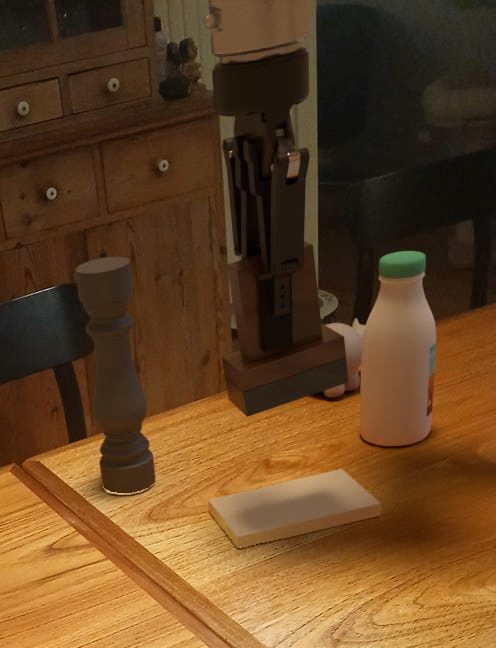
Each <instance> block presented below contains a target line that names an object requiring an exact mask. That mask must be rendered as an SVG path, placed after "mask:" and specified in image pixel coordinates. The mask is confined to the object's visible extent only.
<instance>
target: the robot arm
mask: <svg viewBox="0 0 496 648" xmlns="http://www.w3.org/2000/svg"><path fill="white" fill-rule="evenodd" d="M208 11H209V14H206V15H204V18H203V26H204V27H205V28H206V29H210V48H211V54H212V55H213V56H214V57H218V58H219V62H216V63H215V64H214V65H213V67H214V68H212V69H211V75H212V93H213V107H214V108H213V109H214V111H215V113H216V114H217V115H218V116H222V117H228V118H229V117H230V118H231V117H234V122H233V123H234V125H233V135H234V136H232V137H228V138H224V139H222V145H221V148H222V152H223V156H224V161H225V166H226V175H227V186H228V195H229V196H228V197H229V208H230V219H231V228H232V232H231V233H232V241H233V242H232V243H233V252H234V255H235V256H236V257H240V260H243V259H246V258H249V257H251V256H254V255H257V254H260V253H261V256H262V268H263V272H262V273H258V274H255V278H256V281H257V282H259V299H260V323H261V346H262V351H263V352H269V351H273V350H277V349H281V348H286V347H290V346H293V322H292V281H291V274H293V273H294V272H297V271H301V270H302V269H303V263H304V241H305V224H306V223H305V221H306V220H305V219H306V184H307V183H306V182H307V181H306V180H307V175H308V169H309V163H310V157H311V155H310V151H309V148H308V147H302V148H298V149H297V148H296V140H295V133H294V128H293V124H292V118H291V117H292V116H291V109H292V108H293V107H294V105H299V104H301V103H303V102H304V101H306V100H307V98H308V97H309V95H310V52H309V51H308V50H307V48H306V47H302V45H303V44H302V42H303V41H306V39H307V38H308V37H309V36H310V0H208Z"/></svg>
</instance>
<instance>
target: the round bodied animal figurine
mask: <svg viewBox="0 0 496 648" xmlns="http://www.w3.org/2000/svg"><path fill="white" fill-rule="evenodd" d="M325 325H326V326H327V327H329V328H331V329H332V330H334V331H336V332H337V333H339V334H341V335H342V336H344V340H345V351H346V360H347V371H348V383H345V384H342V385H339V386H336V387H333V388H331V389H328V390H325V391H323V395H324V396H325V397H326V398H337V397H340V396H342V395H343V394H344V393H345V392H351V391H355V390H357V389H358V388H359V387H360V385H361V377H360V375H359V372H358V371H359V370H358V369H359V367H361V357H362V342H363V334H364V329H365V326H366V324H361V323H360V322H359V319H358V318H357V317H355V318H354V320H353V321H352V325H351V326H350V325H348V324H345V323H341V322H331V323H328V324H325Z"/></svg>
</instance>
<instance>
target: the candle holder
mask: <svg viewBox="0 0 496 648" xmlns="http://www.w3.org/2000/svg"><path fill="white" fill-rule="evenodd" d="M74 270H75V271H74V272H75V277H76V278H75V279H76V286H77V292H78V300H79V302H80V303H81V304H82V307H83V309H84V311H85V312H86V313H87V316H89V318H90V320H89V321H88V322H87V324H86V326H85V332H86V334H87V335H88V336H89V337H90V338H91V339H92V340H93V347H94V353H95V362H96V369H95V381H94V391H93V401H92V416H93V418H94V420H95V422H96V423H97V425H98V426H99V427H100V429H101V430H102V433H103V435H104V436H105V438H104V439H103V442H102V443H101V444H100V447H99V453H100V454H101V457H100V458H99V462H98V463H99V469H100V478H101V484H103V485H102V487H103V486H104V488H105V489H107V490H109V491H111V492H117V493H132V492H133V493H134V492H137V491H141V490H143V489H146V488H149V487H150V486H151V485H152V484H154V482H155V483H156V481H155V479H156V470H155V462H154V454H153V452H152V451H151V449H149V448H150V445H151V443H150V441H149V439H148V438H147V437H146V436H145V435H144V434H143V432H142V429H143V425H142V424H143V423H144V420H145V418H146V415H147V412H148V408H149V407H148V400H147V397H146V394H145V392H144V389H143V387H142V384H141V383H142V382H141V381H140V378H139V375H138V372H137V369H136V367H135V364H134V360H133V356H132V346H131V337H130V335H131V330H132V329H133V328H134V326H135V319H134V317H132V316H131V315H130V314H128V310H129V307H130V305H131V302H132V295H133V293H134V284H133V283H134V282H133V275H132V264H131V260H130V259H129V258H128V257H124V256H109V257H101V258H96V259H92V260H89V261H86V262H83V263H81V264H79V265H77V267H75V269H74ZM154 485H155V484H154Z"/></svg>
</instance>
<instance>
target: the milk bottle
mask: <svg viewBox="0 0 496 648" xmlns="http://www.w3.org/2000/svg"><path fill="white" fill-rule="evenodd" d="M426 269H427V258H426V254H425V253H424V252H421V251H415V250H402V251H401V250H400V251H396V252H391V253H388V254H385V255H383V256H382V257H381V258H379V262H378V274H379V275H378V280H379V281H380V287H379V291H378V295H377V298H376V300H375V303H374V304H373V305H374V306H373V308H372V310H371V312H370V313H369V316H368V318H367V320H366V323H365V325H366V326H365V329H364V334H363V342H362V357H361V364H360V386H359V387H360V391H359V393H360V395H359V434H360V436H361V438H362V440H364V441H365V442H367V443H370V444H373V445H377V446H381V447H382V446H383V447H400V446H402V447H403V446H407V445H412V444H416V443H418V442H421V441H423V440H425V438H426V437H428V435H429V433H430V431H431V428H432V421H433V420H432V419H433V402H434V390H435V389H434V388H435V373H436V358H437V357H436V355H437V328H436V321H435V318H434V315H433V313H432V310H431V308H430V306H429V302H428V301H427V298H426V294H425V291H424V286H423V280H424V279H423V278H424V277H425V276H426V272H425V271H426Z"/></svg>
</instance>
